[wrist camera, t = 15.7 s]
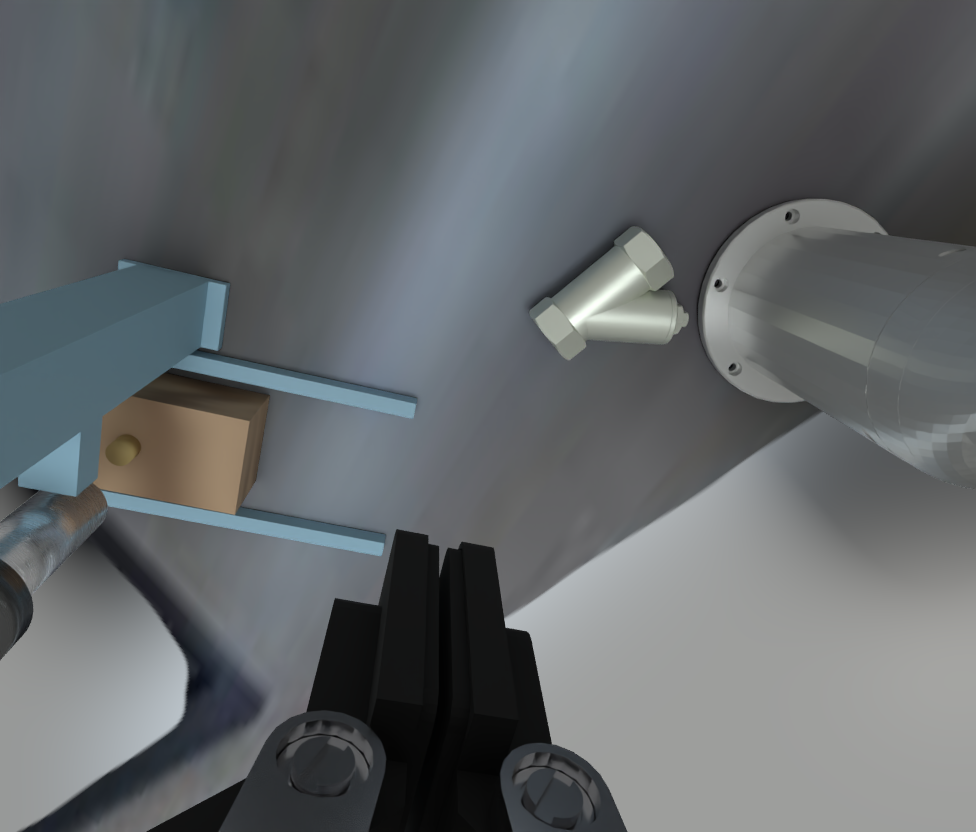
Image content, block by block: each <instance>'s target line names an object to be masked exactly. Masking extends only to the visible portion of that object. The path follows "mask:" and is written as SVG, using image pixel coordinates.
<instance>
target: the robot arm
mask: <svg viewBox="0 0 976 832" xmlns="http://www.w3.org/2000/svg"><path fill="white" fill-rule="evenodd" d="M787 212H788V214H789V217H788V219H787V220H785V215H786V213H787ZM717 279H719V285H718V286H716V287H714V283H715V282H716V280H717ZM698 326H699V332H700V337H701V342H702V344H703V347H704V349H705V352H706V354H707V357H708V358H709V360H710V361H711V363H712V364H713V366H714V367H715V369H716V370H717V371H718V372H719V373H720V374H721V375H722V376H723V377H724V378H725V379H726V380H727V381H728V382H729V383H731V384H732V385H734V386H735V387H737V388H738V389H739V390H741V391H742V392H745V393H747V394H749V395H751V396H753V397H755V398H758V399H762V400H766V401H771V402H780V403H795V402H801V401H807V402H808V403H810V404H812V405H813V406H815V407H817V408H818V409H820V410H822V411H823V412H825V413H826V414H828V415H830V416H831V417H833V418H835V419H836V420H838V421H840V422H841V423H843V424H845V425H846V426H848V427H849V428H851V429H853V430H854V431H856V432H858V433H859V434H861V435H863V436H864V437H866V438H867V439H869V440H871V441H873V442H874V443H876V444H877V445H879V446H881V447H882V448H884V449H885V450H887V451H889V452H890V453H892V454H894V455H895V456H897V457H899V458H900V459H902V460H903V461H905V462H907V463H909V464H911V465H912V466H914V467H915V468H917V469H919V470H921V471H923V472H925V473H927V474H928V475H930V476H932V477H934V478H937V479H939V480H942V481H944V482H947V483H950V484H954V485H957V486H961V487H965V488H972V489H976V247H974V246H967V245H959V244H951V243H943V242H936V241H928V240H920V239H913V238H905V237H897V236H889V235H888V233H887V232H886V231H885V230H884V228H883V227H882V226H881V225H880V224H879V223H878V222H877V220H876V219H874V218H873V217H871V216H870V215H869V214H867V213H866V212H864V211H863V210H862V209H859V208H857V207H855V206H852V205H850V204H847V203H845V202H840V201H834V200H829V199H812V198H807V199H800V200H793V201H788V202H785V203H782V204H779V205H776V206H773V207H770V208H768V209H766V210H764V211H763V212H761V213H759V214H757V215H756V216H754V217H752V218H750V219H749V220H748V221H747V222H746V223H744V224H743V225H742V226H741V227H739V228H738V229H737V230H736V231H735V232H734V233H733V234H732V235H731V236H730V237H729V238H728V240H727V241H726V242H725V243H724V244H723V245H722V247H721V248H720V249H719V251H718V253H717V254H716V256H715V258H714V259H713V261H712V262H711V264H710V266H709V268H708V271H707V273H706V276H705V279H704V281H703V284H702V288H701V293H700V298H699V302H698ZM731 364H733V367H732V368H731V369H729V366H730V365H731ZM147 832H627V830H626V827H625V825H624V823H623V820H622V818H621V816H620V813H619V811H618V809H617V807H616V804H615V802H614V800H613V797H612V795H611V793H610V790H609V789H608V787H607V785H606V784H605V782H604V780H603V779H602V777H601V775H600V774H599V773H598V772H597V771H596V770H595V769H594V768H593V767H592V766H591V765H590V764H589V763H588V762H587V761H586V760H584V759H583V758H581V757H580V756H578V755H577V754H575V753H574V752H572V751H570V750H567V749H565V748H562V747H560V746H557V745H552V742H551V737H550V732H549V727H548V722H547V717H546V712H545V707H544V702H543V697H542V692H541V687H540V681H539V676H538V671H537V666H536V661H535V656H534V651H533V646H532V641H531V637H530V634H529V633H528V632H527V631H521V630H515V629H509V628H505V621H504V614H503V608H502V601H501V594H500V587H499V580H498V573H497V566H496V559H495V552H494V548H492V547H487V546H482V545H477V544H471V543H466V542H461V544H460V546H459V549H452V548H448V549H447V551H446V555H445V558H444V562H443V566H442V570H441V573H440V577H439V546H436V545H431V544H428V535H424V534H419V533H414V532H408V531H403V530H398V529H397V530H396V533H395V536H394V540H393V545H392V549H391V553H390V557H389V562H388V566H387V570H386V575H385V579H384V583H383V587H382V592H381V596H380V600H379V604H378V606H377V605H371V604H366V603H360V602H354V601H348V600H343V599H337V598H335V600H334V604H333V608H332V612H331V616H330V620H329V624H328V628H327V632H326V636H325V640H324V644H323V648H322V652H321V656H320V660H319V664H318V668H317V672H316V676H315V680H314V684H313V688H312V692H311V696H310V700H309V704H308V708H307V712H305V713H303V714H300V715H297V716H294V717H291V718H289V719H288V720H286V721H285V722H283V723H282V724H280V725H279V726H277V727H276V728H275V730H274V731H273V732H272V733H271V735H270V736H269V737H268V739H267V740H266V742H265V744H264V745H263V747H262V749H261V751H260V753H259V755H258V757H257V759H256V761H255V763H254V765H253V767H252V769H251V770H250V772H249V774H248V776H247V778H246V779H244V780H242V781H240V782H238V783H236V784H234V785H233V786H231V787H229V788H227V789H225V790H223V791H221V792H220V793H218V794H216V795H214V796H212V797H210V798H208V799H206V800H205V801H203V802H201V803H199V804H197V805H195V806H193V807H192V808H190V809H188V810H186V811H184V812H182V813H180V814H178V815H177V816H175V817H173V818H171V819H169V820H167V821H165V822H164V823H162V824H160V825H158V826H156V827H154V828H152V829H150V830H149V831H147Z"/></svg>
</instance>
